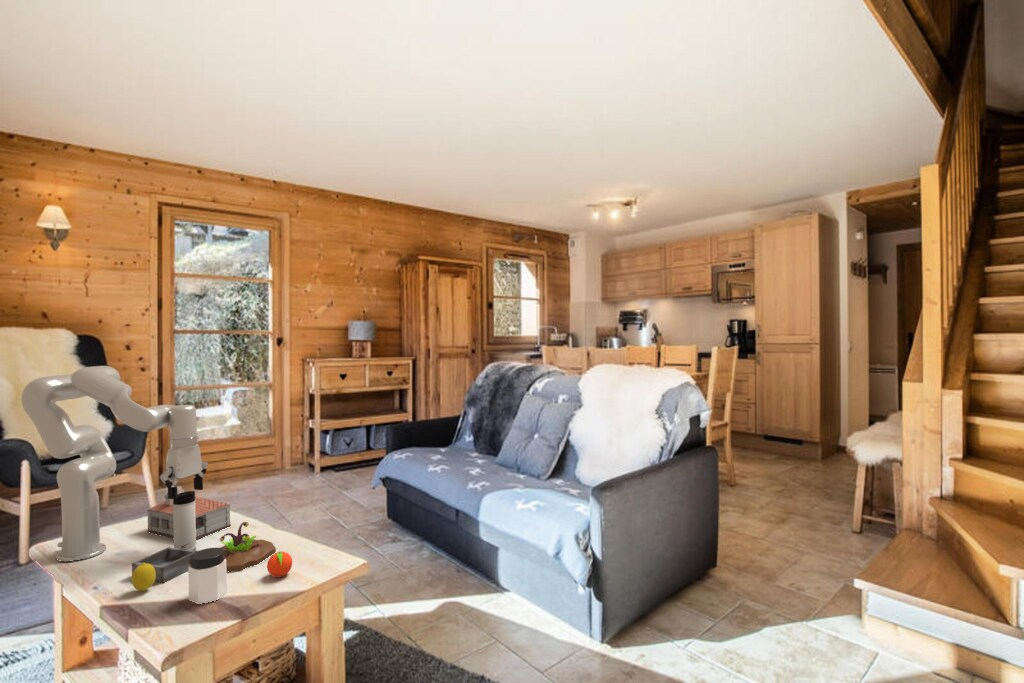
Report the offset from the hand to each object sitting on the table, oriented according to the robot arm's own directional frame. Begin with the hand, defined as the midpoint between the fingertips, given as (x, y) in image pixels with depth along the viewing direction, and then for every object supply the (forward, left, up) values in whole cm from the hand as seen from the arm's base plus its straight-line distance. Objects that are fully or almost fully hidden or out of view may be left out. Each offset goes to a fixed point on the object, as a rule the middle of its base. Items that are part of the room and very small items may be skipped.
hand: (186, 494), depth 171 cm
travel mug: (-1, 0, -20) cm, 20 cm away
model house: (-16, +16, -20) cm, 30 cm away
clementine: (+42, -7, -20) cm, 47 cm away
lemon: (+11, -24, -20) cm, 33 cm away
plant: (+21, +1, -20) cm, 29 cm away
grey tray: (+6, -13, -19) cm, 24 cm away
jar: (+31, -22, -20) cm, 43 cm away
